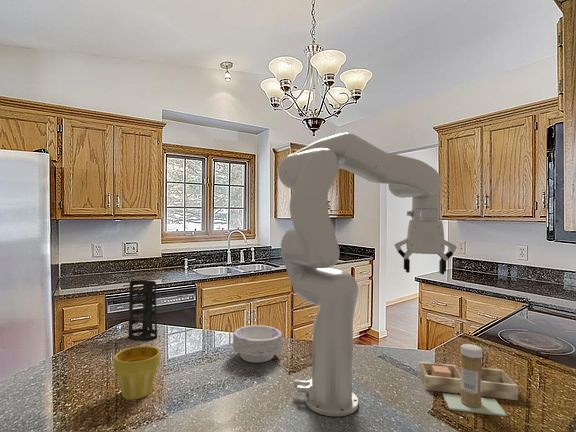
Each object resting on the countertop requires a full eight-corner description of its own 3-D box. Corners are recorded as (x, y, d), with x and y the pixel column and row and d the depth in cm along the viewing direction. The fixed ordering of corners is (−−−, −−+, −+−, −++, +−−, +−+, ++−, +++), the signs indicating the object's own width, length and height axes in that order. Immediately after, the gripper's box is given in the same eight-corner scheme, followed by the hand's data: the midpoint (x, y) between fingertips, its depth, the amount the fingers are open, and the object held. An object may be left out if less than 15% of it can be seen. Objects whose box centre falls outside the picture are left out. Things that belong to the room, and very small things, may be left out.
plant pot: (130, 409, 78) (131, 365, 78) (104, 396, 83) (105, 355, 83) (168, 390, 87) (169, 351, 87) (142, 379, 92) (143, 342, 92)
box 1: (425, 389, 90) (425, 376, 90) (419, 373, 99) (419, 361, 99) (465, 394, 88) (465, 380, 88) (455, 377, 97) (455, 365, 97)
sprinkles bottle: (485, 404, 82) (486, 347, 82) (475, 410, 79) (476, 351, 80) (466, 396, 86) (467, 342, 86) (456, 401, 83) (456, 345, 83)
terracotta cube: (434, 386, 92) (434, 371, 92) (431, 379, 96) (431, 365, 96) (450, 388, 91) (450, 373, 91) (446, 381, 95) (447, 366, 95)
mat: (449, 409, 80) (449, 407, 80) (442, 394, 87) (442, 393, 87) (506, 416, 78) (506, 414, 78) (494, 400, 85) (494, 399, 85)
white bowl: (290, 360, 107) (291, 334, 107) (246, 371, 98) (247, 343, 98) (265, 345, 119) (266, 322, 120) (224, 353, 111) (225, 329, 111)
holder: (122, 340, 121) (124, 283, 121) (132, 333, 129) (133, 279, 129) (154, 341, 121) (155, 283, 121) (162, 333, 129) (163, 280, 129)
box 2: (475, 395, 87) (475, 381, 87) (464, 378, 97) (464, 365, 97) (518, 400, 85) (518, 385, 85) (502, 382, 95) (502, 369, 95)
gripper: (396, 214, 101) (395, 273, 101) (460, 215, 98) (459, 276, 98) (393, 215, 109) (393, 269, 109) (453, 216, 105) (452, 272, 105)
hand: (424, 272), depth 103 cm, fingers open, 9 cm apart
